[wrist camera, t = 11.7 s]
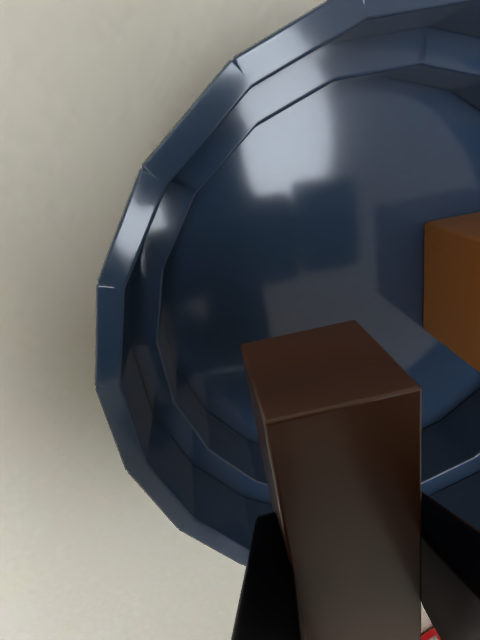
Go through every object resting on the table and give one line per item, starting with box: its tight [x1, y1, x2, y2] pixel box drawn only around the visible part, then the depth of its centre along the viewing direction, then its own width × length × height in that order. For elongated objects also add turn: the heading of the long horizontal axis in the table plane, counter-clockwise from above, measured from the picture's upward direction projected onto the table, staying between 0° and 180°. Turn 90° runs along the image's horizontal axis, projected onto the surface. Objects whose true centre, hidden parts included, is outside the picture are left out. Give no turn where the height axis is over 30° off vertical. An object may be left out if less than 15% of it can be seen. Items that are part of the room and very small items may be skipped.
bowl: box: [95, 0, 480, 566], centre depth 13 cm, size 16×16×5 cm
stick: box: [241, 320, 422, 640], centre depth 8 cm, size 7×2×2 cm, turn 10°
